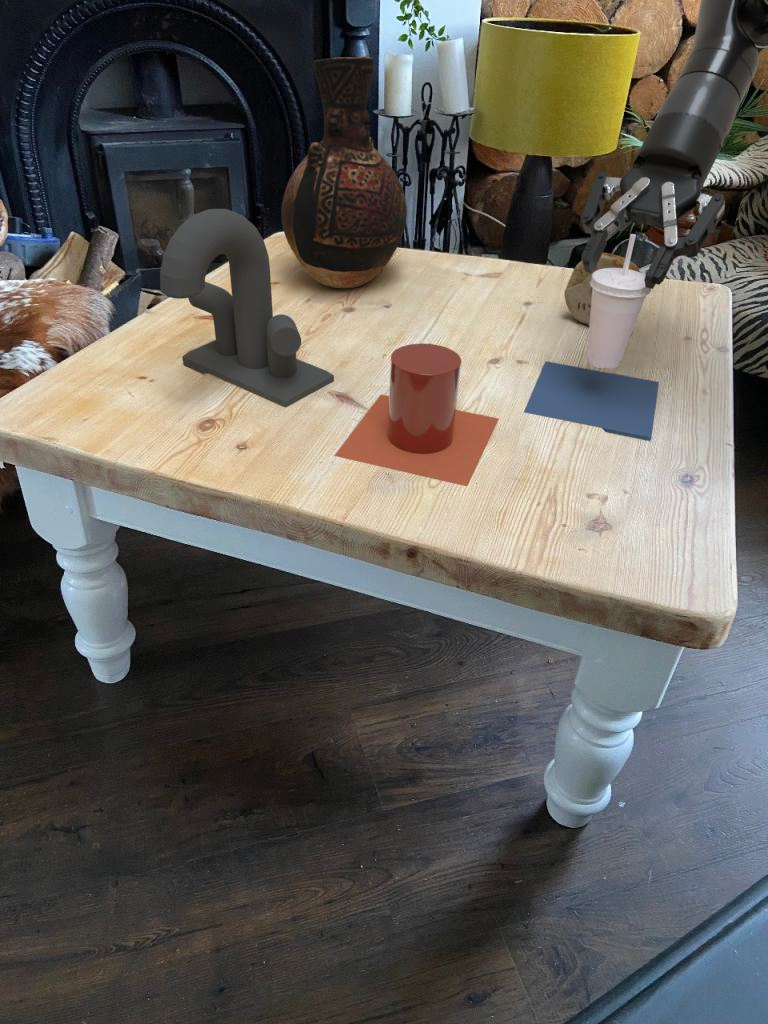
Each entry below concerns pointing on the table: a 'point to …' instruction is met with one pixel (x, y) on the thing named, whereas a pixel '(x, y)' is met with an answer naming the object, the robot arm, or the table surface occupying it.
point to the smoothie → (614, 311)
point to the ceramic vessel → (344, 186)
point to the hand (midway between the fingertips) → (617, 276)
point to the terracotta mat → (444, 465)
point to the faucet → (238, 309)
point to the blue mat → (595, 399)
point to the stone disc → (588, 286)
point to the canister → (423, 397)
